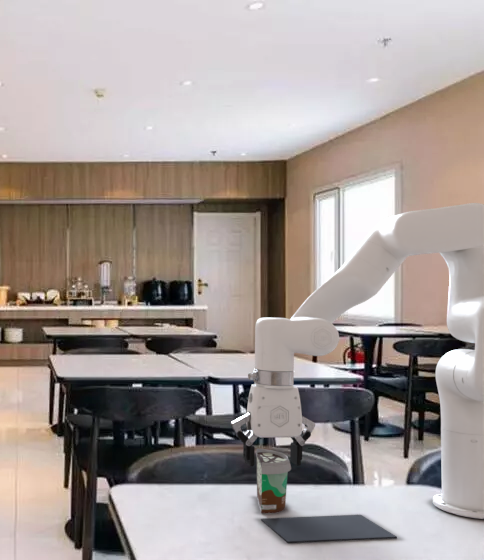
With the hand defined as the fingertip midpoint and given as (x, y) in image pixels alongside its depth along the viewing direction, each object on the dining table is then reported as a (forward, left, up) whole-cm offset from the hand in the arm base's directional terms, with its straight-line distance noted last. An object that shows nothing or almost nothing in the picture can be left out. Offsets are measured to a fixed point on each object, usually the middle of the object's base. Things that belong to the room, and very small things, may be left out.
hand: (272, 464), depth 125 cm
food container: (0, 0, -9) cm, 9 cm away
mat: (-4, +13, -8) cm, 16 cm away
